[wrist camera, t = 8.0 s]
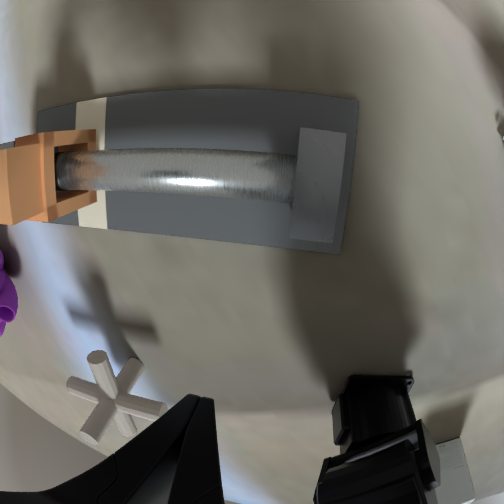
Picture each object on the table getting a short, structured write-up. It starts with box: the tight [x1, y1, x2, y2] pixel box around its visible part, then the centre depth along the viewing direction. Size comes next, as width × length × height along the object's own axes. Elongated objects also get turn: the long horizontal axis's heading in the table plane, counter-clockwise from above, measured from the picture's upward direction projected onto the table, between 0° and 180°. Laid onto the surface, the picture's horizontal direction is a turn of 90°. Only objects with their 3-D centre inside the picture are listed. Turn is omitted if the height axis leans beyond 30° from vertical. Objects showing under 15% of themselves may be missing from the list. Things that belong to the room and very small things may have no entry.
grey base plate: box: [37, 88, 359, 255], centre depth 19 cm, size 25×10×1 cm, turn 86°
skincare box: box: [435, 438, 476, 504], centre depth 23 cm, size 10×6×10 cm, turn 10°
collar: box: [0, 129, 97, 225], centre depth 15 cm, size 3×5×8 cm, turn 176°
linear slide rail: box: [0, 127, 347, 243], centre depth 16 cm, size 22×5×5 cm, turn 86°
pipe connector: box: [66, 350, 168, 446], centre depth 22 cm, size 10×10×10 cm
